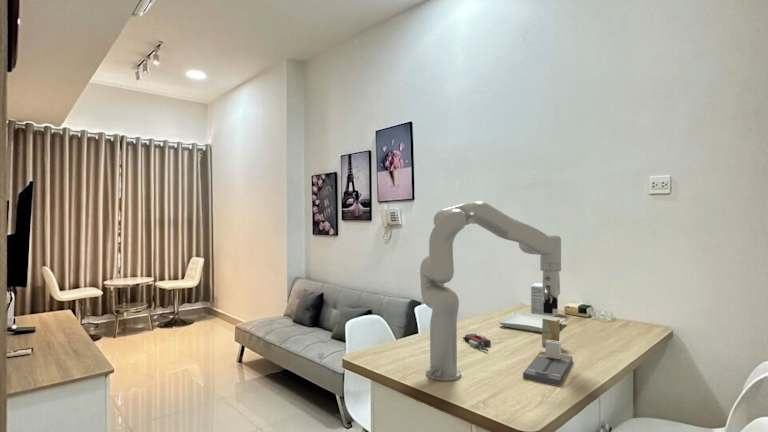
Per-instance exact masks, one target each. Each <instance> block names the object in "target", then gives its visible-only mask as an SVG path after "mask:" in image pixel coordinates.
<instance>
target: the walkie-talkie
mask: <svg viewBox="0 0 768 432" xmlns="http://www.w3.org/2000/svg"><path fill="white" fill-rule="evenodd" d="M462 339H463V340H464V341H465V342H466V343H468V344H469V347H472V348H474V349H480V350H483V351H485V352H489V349H488V348H486V347H491V346H492V345H491V343H492V342H491V340H490V339H488V338H486V336H484V335H482V334H480V333H478V334H477V333H475V332H474V333H469V334H465V335H464V336H462Z"/></svg>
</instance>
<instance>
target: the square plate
mask: <svg viewBox="0 0 768 432" xmlns="http://www.w3.org/2000/svg"><path fill="white" fill-rule="evenodd" d="M545 317H549V318H555V319H560V325H561V324H562V323H563V322H564V321H566V318H564V317H563V318H562V317H558V316H556V317H552V316H546V315H539V314H531V312H530V313H528V312H518V311H517V312H513V313H511V314H509V315H508V316H506V317H505V318H503V319H501V320H500V321H498V323H499V324H500V325H501V326H503V327H505V328H510V329H517V330H522V331H528V330H529V331H530V332H536V333H542V322H543V318H545Z"/></svg>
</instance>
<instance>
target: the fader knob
mask: <svg viewBox="0 0 768 432" xmlns="http://www.w3.org/2000/svg"><path fill="white" fill-rule="evenodd" d="M545 352H546V357H549V358H555V359H560V358H561V355H562V341H560V340H559V341H553V340H547V341H546V346H545Z"/></svg>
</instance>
